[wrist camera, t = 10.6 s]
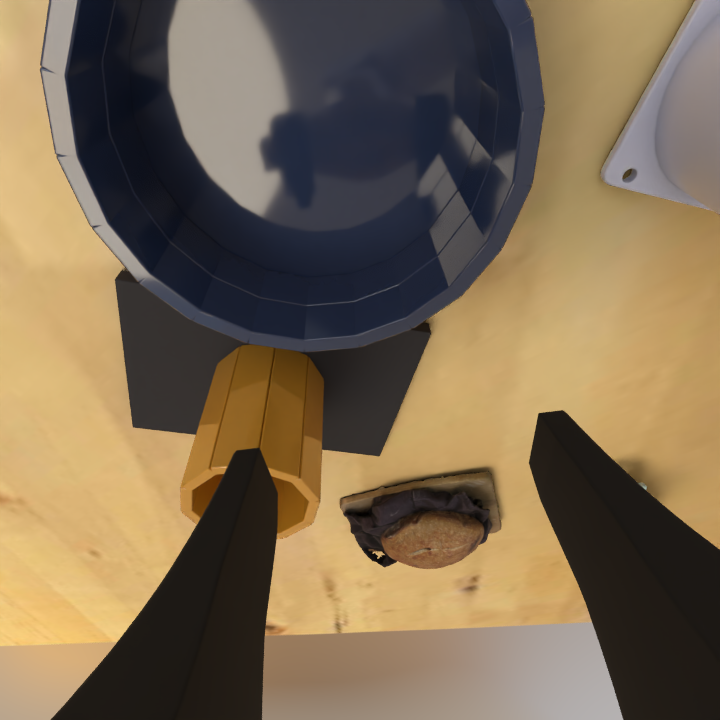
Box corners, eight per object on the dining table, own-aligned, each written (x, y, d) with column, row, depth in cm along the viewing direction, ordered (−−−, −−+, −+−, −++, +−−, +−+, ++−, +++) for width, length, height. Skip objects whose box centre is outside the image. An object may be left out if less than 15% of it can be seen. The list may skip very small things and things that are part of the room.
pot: (563, -58, 14) (651, -66, 10) (424, 302, 22) (443, 374, 18) (93, -222, 11) (-31, -316, 7) (133, 249, 19) (84, 319, 15)
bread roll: (489, 461, 30) (505, 512, 27) (500, 525, 35) (515, 574, 32) (333, 493, 31) (333, 544, 29) (366, 550, 37) (369, 598, 34)
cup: (331, 351, 22) (329, 472, 17) (312, 426, 26) (306, 546, 20) (218, 333, 21) (178, 456, 16) (214, 413, 25) (181, 536, 19)
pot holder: (429, 323, 22) (431, 333, 22) (378, 446, 28) (379, 456, 28) (120, 269, 20) (114, 279, 19) (137, 416, 26) (132, 427, 25)
